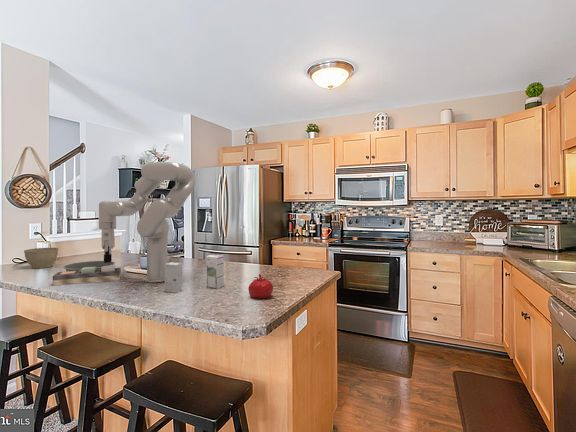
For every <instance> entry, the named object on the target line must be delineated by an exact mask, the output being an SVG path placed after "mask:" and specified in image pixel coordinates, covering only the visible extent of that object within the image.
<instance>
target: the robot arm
mask: <svg viewBox="0 0 576 432" xmlns="http://www.w3.org/2000/svg"><path fill="white" fill-rule="evenodd" d="M140 174H141V177H139V179H138V180H137V181H136V182H134V189H135V193H134V194H133V196H132V197H130V199H129V200H117V201H110V200H109V201H107V200H106V201H105V200H104V201H100V202H99V203H98V230H101V249H103V261H104V263H108V262H111V261H112V262H113V260H112V250H113V249H114V248H115V246H116V245H115V244H116V243H115V242H116V241H115V238H116V237H115V230H116V229H117V217H128V216H129V217H130V216H134V215H135V214H136V213H138V212H139V211H140V210H141V209H142V208H143V207H144V206H145V204H146V203H147V201H148V199H149V196H150V195H151V194H152V192H154V191H155V190H156V189H157V188H158V187H159V186H160V185H161V184H162V183H163V182H164V181H172V182H173V181H174V182H177V183H176V184H175V185H174V186H173V187H172V188H171V190H170V191H169V192H168V193H167V195H166V196H165V198H157V199H155V200H153V201H152V202H151V203H150V204H149V205H148V207H147V209H145V211H144V213H143V214H142V215H141V217H140V218H139V220H138V222H137V224H136V231H137V233H138V235H140V236H141V237H142V238H147V240H146V277H144V278H143V282H144V283H153V284H154V283H162V282H164V283H165V264H167V263H168V239H169V238H168V237H169V231H170V227H169V222H168V220H167V219H172V218H175V217H176V215H177V214H178V213H179V211H180V210H181V209H182V207H183V205H185V202H186V201H187V200H188V198H189V196H190V195H191V194H192V192H193V191H194V189H195V186H196V176H195V173H194V171H193V170H192V169H191V168H190V167H189V166H187V165H185V164H181V163H178V162H169V161H167V162H165V161H163V162H155V161H154V162H147V163H145V164H143V166H142V167H141V169H140Z"/></svg>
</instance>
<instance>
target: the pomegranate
mask: <svg viewBox="0 0 576 432" xmlns="http://www.w3.org/2000/svg"><path fill="white" fill-rule="evenodd" d="M253 278H254V279H252V281H251V283H249V285H248V287H247V288H248V294H249V296H250V297H251V298H252V299H253V298H254V299H261V298H263V299H267V298H269V297H270V296H271V295H272V293H273V291H274V285H273V283H272V282H271V281H270V280H268V277H264V276H262V274H261V273H259V274H258V277H257V276H255V277H253Z"/></svg>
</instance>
